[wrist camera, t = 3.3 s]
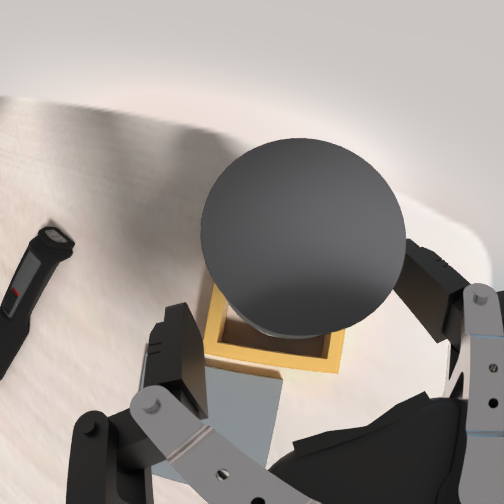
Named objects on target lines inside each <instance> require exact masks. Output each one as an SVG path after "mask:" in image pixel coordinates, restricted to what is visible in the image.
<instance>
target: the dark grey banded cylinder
mask: <svg viewBox="0 0 504 504" xmlns="http://www.w3.org/2000/svg"><path fill="white" fill-rule="evenodd" d="M201 244H202V251H203V255H204V259H205V263H206V265H207V268H208V270H209V272H210V275H211V277H212V279H213V280H214V282H215V284H216V285H217V287H218V289H219V290H220V291H221V293H222V294H223V295H224V296H225V298H226V300H227V301H228V303H229V305H230V306H231V307H232V308H233V310H234V311H235V312H236V313H237V314H238V315H239V316H240V317H241V318H242V319H243V320H244V321H245V322H247V323H248V324H250V325H251V326H252V327H254V328H256V329H257V330H259V331H260V332H262V333H264V334H266V335H269V336H273V337H280V338H286V339H307V338H312V337H317V336H320V335H323V334H328V333H332V332H337V331H340V330H342V329H345V328H348V327H351V326H352V325H354V324H356V323H358V322H360V321H362V320H363V319H365V318H366V317H367V316H369V315H370V314H371V313H373V312H374V311H375V310H376V309H377V308H378V307H379V306H380V305H381V304H382V303H383V302H384V301H385V299H386V298H387V297H388V295H389V294H390V293H391V291H392V289H393V288H394V286H395V284H396V282H397V280H398V278H399V275H400V272H401V270H402V266H403V262H404V257H405V249H406V232H405V225H404V219H403V215H402V212H401V209H400V206H399V204H398V202H397V199H396V197H395V195H394V193H393V192H392V190H391V188H390V187H389V185H388V184H387V182H386V181H385V180H384V179H383V177H382V176H381V175H380V174H379V173H378V172H377V171H376V170H375V169H374V168H373V167H372V166H371V165H370V164H369V163H367V162H366V161H365V160H364V159H362V158H361V157H359V156H358V155H356V154H355V153H353V152H351V151H349V150H347V149H345V148H343V147H341V146H338V145H335V144H332V143H329V142H325V141H321V140H316V139H307V138H291V139H283V140H278V141H274V142H270V143H266V144H264V145H261V146H258V147H256V148H254V149H252V150H250V151H248V152H246V153H245V154H243V155H242V156H240V157H239V158H238V159H236V160H235V161H234V162H233V163H232V164H231V165H229V166H228V167H227V168H226V169H225V171H224V172H223V173H222V174H221V175H220V176H219V178H218V179H217V181H216V182H215V184H214V186H213V187H212V189H211V191H210V193H209V195H208V198H207V200H206V203H205V206H204V210H203V215H202V221H201Z"/></svg>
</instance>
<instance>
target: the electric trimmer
mask: <svg viewBox="0 0 504 504" xmlns="http://www.w3.org/2000/svg"><path fill="white" fill-rule="evenodd" d="M74 245H75V243H74V242H73V241H71V240H70V239H69V238H68V237H67V236H66V235H65V234H63V233H62V232H61V231H60V230H59V229H58V228H55V227H45V228H43V229H41V230H39V232H38V236H36V237H35V238H33V239H32V240H31V241H30V242H29V245H28V247H27V249H26V251H25V253H24V255H23V257H22V259H21V261H20V263H19V265H18V267H17V269H16V271H15V274H14V276H13V278H12V280H11V282H10V285H9V287H8V289H7V291H6V294H5V296H4V299H3V301H2V303H1V306H0V380H2V378H3V377H4V375H5V373H6V371H7V370H8V368H9V366H10V364H11V363H12V361H13V359H14V357H15V356H16V354H17V352H18V351H19V349H20V347H21V346H22V344H23V342H24V340H25V339H26V337H27V335H28V333H29V328H28V319H29V317H30V315H31V313H32V311H33V309H34V307H35V305H36V303H37V301H38V299H39V298H40V296H41V294H42V292H43V290H44V288H45V287H46V285H47V283H48V281H49V279H50V278H51V276H52V274H53V273H54V271H55V269H56V267H57V266H58V264H59V262H61V261H63V260H65V259H67V258H70V257H71V256H72V254H73V252H72V249H73V247H74Z"/></svg>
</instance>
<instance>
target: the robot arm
mask: <svg viewBox="0 0 504 504" xmlns="http://www.w3.org/2000/svg"><path fill="white" fill-rule="evenodd" d="M393 290H394V291H395V292H396V294H397V295H398V296H399V297H400V298H401V299H402V301H403V302H404V303H405V304H406V305H407V307H408V308H409V309H410V310H411V312H412V313H413V314H414V315H415V316H416V318H417V319H418V320H419V321H420V323H421V324H422V325H423V326H424V328H425V329H426V330H427V331H428V333H429V334H430V335H431V336H432V338H433V339H434V340H435V342H436V343H439V342H441V341H443V340H445V339H448V340H449V341H450V343H449V346H448V358H447V371H446V381H445V388H444V392H443V396H442V397H439V398H431V399H430V398H429V397H428V395H427V394H426V392H425V391H424V392H422V393H420V394H418V395H416V396H414V397H412V398H410V399H408V400H405V401H403V402H401V403H399V404H397V405H395V406H394V407H393V408H391V409H390V410H389V411H387V412H386V413H384V414H383V415H382V416H380V417H379V418H378V419H376V420H375V421H373V422H372V423H371V424H369V425H367V426H364V427H358V428H351V429H343V430H334V431H327V432H324V433H321V434H318V435H314V436H311V437H308V438H304V439H301V440H297V441H294V442H293V446H294V449H295V450H294V451H292V452H290V453H288V454H287V455H285V456H284V457H282V458H281V459H279V460H278V461H277V462H276V463H275V464H273V465H272V467H271V468H270V469H269V470H266V469H265V468H263V467H262V466H261V465H259V464H258V463H257V462H255V461H254V460H253V459H251V458H250V457H249V456H247V455H246V454H245V453H243V452H242V451H241V450H239V449H238V448H237V447H236V446H234V445H233V444H232V443H231V442H229V441H228V440H227V439H226V438H224V437H223V436H222V435H221V434H219V433H218V432H217V431H216V430H215V429H213V428H212V427H210V426H206V425H205V424H204V423H202V422H201V421H200V420H203V419H208V418H209V417H208V405H207V391H206V376H205V360H204V345H203V340H202V336H201V333H200V331H199V329H198V327H197V324H196V322H195V320H194V318H193V316H192V314H191V311H190V309H189V307H188V305H187V303H186V302H184V303H180V304H176V305H172V306H168V307H166V309H165V316H164V322H160V323H156V325H155V326H154V328H153V330H152V331H151V333H150V337H149V344H148V345H149V347H148V351H147V354H148V356H147V359H146V367H145V375H144V384H143V389H142V390H140V391H139V392H138V393H137V394H136V395H135V396H134V397H133V399H132V401H131V404H130V408H128V409H126V410H124V411H122V412H119V413H117V414H115V415H112V416H110V417H107V416H106V415H105V414H104V413H102V412H100V411H96V410H95V411H89V412H86V413H85V414H83V415H82V416H81V417H80V418H79V419H78V420H77V422H76V423H75V426H74V429H73V436H72V443H71V451H70V459H69V468H68V479H67V493H66V504H154V500H153V487H152V471H151V466H153V465H155V464H158V463H160V462H162V461H165V460H167V459H168V460H167V461H168V463H169V464H170V465H171V466H172V467H173V468H174V469H175V471H176V472H177V473H178V474H179V475H180V476H181V477H182V478H183V479H184V480H185V481H186V482H187V483H188V484H189V485H190V486H191V487H192V488H193V489H194V490H195V491H196V492H197V493H198V494H199V495H200V496H201V497H202V498H203V499H204V500H205V501H207V502H208V503H209V504H504V291H499V292H495V291H494V290H493V289H492V288H491V287H489V286H488V285H485V284H481V283H474V284H470V283H469V282H468V281H467V280H466V279H465V278H463V277H462V276H461V275H460V274H459V273H458V272H457V271H456V270H454V269H453V268H452V267H451V266H449V265H448V263H446V262H445V261H444V260H442V258H441V257H439V256H438V255H437V254H436V253H435V252H433V251H431V250H429V249H426V248H424V247H419V246H418V245H417V244H416V243H414V242H413V241H412V240H411V239H406V249H405V257H404V262H403V266H402V270H401V272H400V275H399V278H398V280H397V282H396V284H395V286H394V288H393Z"/></svg>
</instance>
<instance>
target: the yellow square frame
mask: <svg viewBox="0 0 504 504" xmlns="http://www.w3.org/2000/svg"><path fill="white" fill-rule="evenodd" d="M228 304H229V303H228V301H227V300H226V298H225V296H224V295H223V294H222V293H221V291H220V290H219V289H218V287H217V285H216V284H215V282H214V286H213V292H212V297H211V302H210V307H209V313H208V318H207V324H206V329H205V335H204V340H203V345H204V354H209V355H214V356H219V357H224V358H229V359H235V360H240V361H246V362H252V363H258V364H264V365H270V366H277V367H284V368H291V369H299V370H307V371H316V372H325V373H335V374H338V372H339V366H340V360H341V354H342V347H343V341H344V334H345V329H342V330H340V331H337V332H332V333H328V334H325V338H324V344H323V350H322V357H316V356H308V355H300V354H293V353H286V352H279V351H272V350H266V349H260V348H253V347H248V346H242V345H236V344H231V343H225V342H222V337H223V332H224V326H225V321H226V315H227V309H228Z"/></svg>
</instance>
